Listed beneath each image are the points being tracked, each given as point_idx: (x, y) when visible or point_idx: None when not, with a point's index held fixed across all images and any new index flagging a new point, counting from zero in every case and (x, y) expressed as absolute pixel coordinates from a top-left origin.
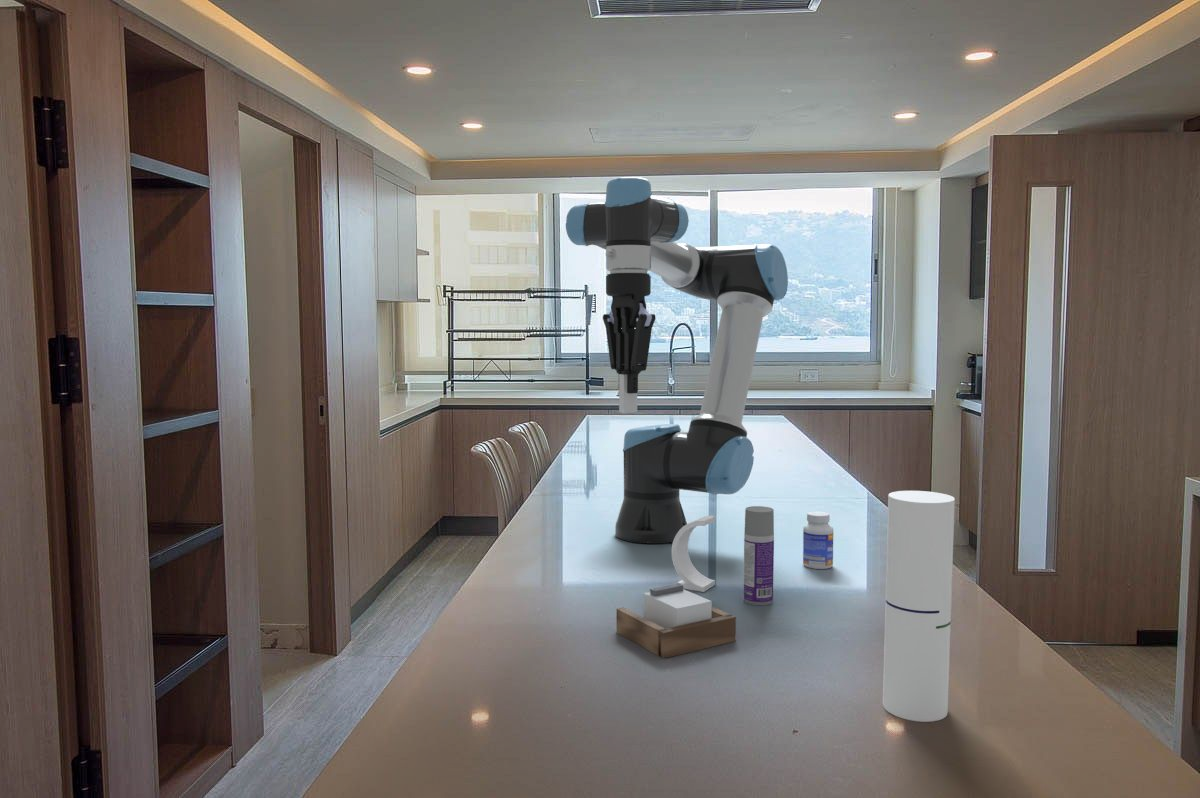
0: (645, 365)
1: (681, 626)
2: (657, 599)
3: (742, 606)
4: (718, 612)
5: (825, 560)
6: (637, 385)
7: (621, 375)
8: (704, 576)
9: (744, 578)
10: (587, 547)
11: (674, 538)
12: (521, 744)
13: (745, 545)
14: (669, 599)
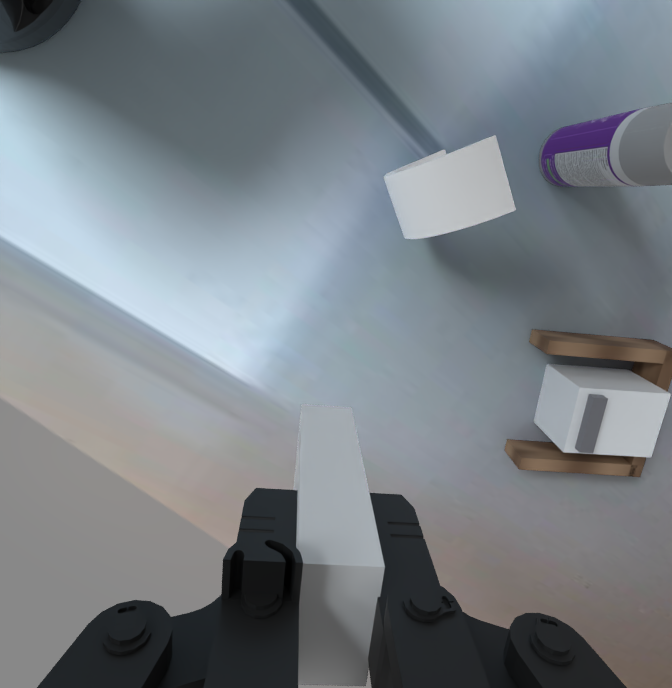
0: (599, 675)
1: None
2: (600, 454)
3: (564, 207)
4: (647, 359)
5: None
6: (421, 535)
7: (323, 675)
8: (423, 159)
9: (572, 182)
10: (20, 179)
11: (419, 238)
12: (652, 665)
13: (618, 184)
14: (614, 440)
